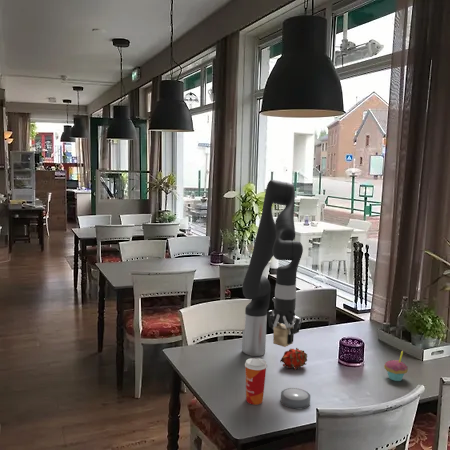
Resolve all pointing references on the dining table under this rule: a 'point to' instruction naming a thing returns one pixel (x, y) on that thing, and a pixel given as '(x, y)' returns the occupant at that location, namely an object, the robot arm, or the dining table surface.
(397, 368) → the cupcake
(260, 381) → the paper cup
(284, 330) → the oak block
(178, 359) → the dining table surface
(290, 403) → the pedestal
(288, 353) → the dragon fruit
